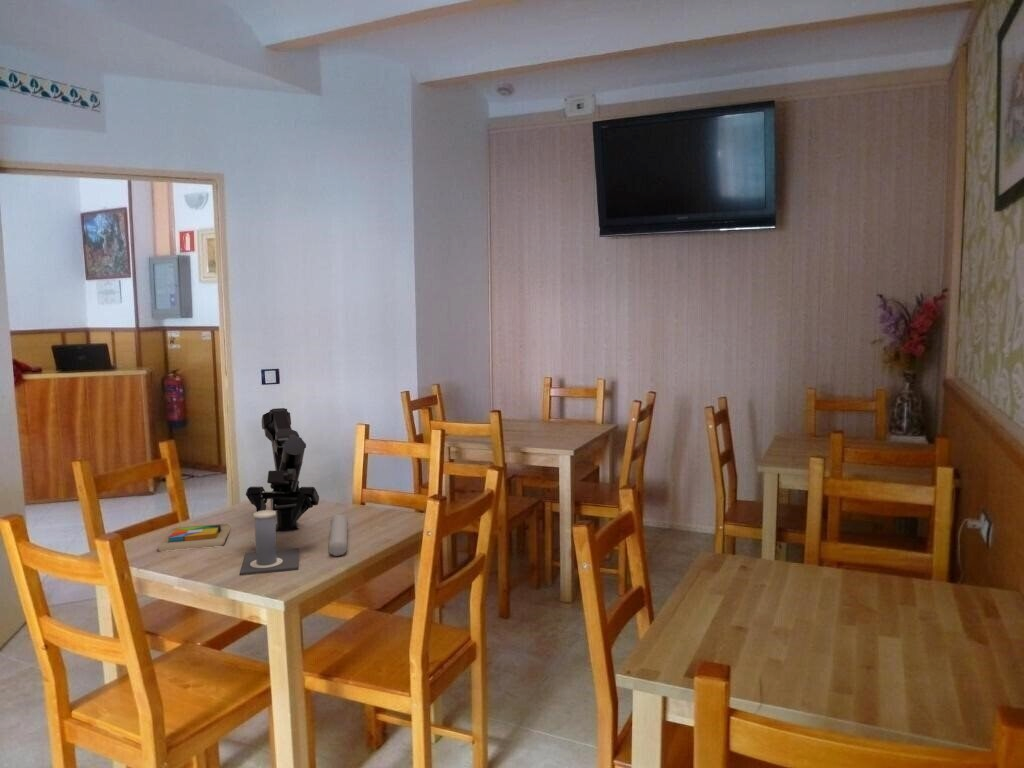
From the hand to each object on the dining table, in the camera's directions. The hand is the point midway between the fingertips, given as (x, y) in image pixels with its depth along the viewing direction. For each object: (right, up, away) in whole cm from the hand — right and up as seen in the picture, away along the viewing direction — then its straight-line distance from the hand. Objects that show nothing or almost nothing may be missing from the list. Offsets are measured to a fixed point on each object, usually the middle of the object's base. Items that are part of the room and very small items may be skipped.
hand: (275, 523), depth 198 cm
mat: (0, -9, -4) cm, 10 cm away
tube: (+14, -8, +11) cm, 20 cm away
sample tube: (0, -9, -7) cm, 11 cm away
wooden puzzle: (-28, -8, +16) cm, 33 cm away
